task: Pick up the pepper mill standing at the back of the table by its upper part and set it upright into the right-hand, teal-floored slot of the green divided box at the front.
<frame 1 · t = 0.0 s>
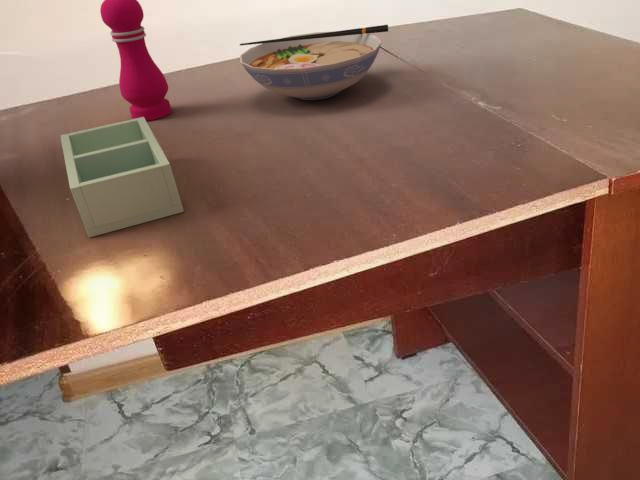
pepper mill: (152, 116, 114), on the table
green divided box: (126, 193, 87), on the table
ramen bowl: (318, 94, 116), on the table
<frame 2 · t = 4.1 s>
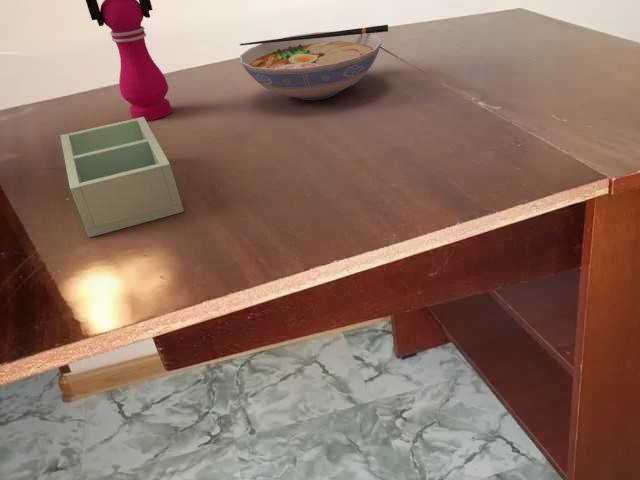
hand: (123, 19, 106), 15 cm above the table, tool pointing down, fingers closed on pepper mill, 6 cm apart
pepper mill: (152, 116, 114), on the table, touching gripper
everything else where it was.
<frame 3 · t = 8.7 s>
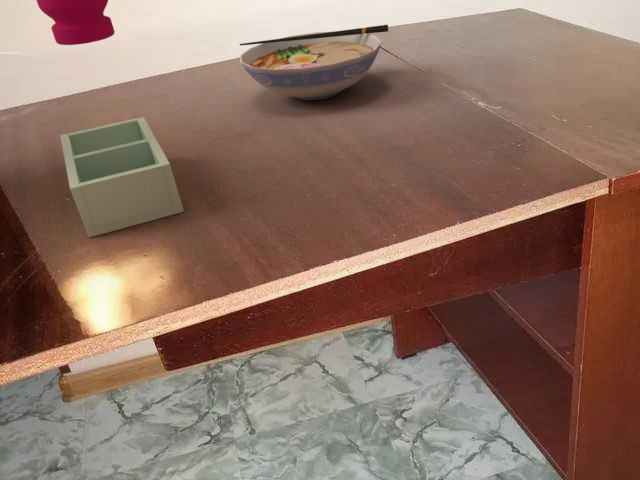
pepper mill: (86, 40, 79), point 18 cm above the table, touching gripper
everything else where it was.
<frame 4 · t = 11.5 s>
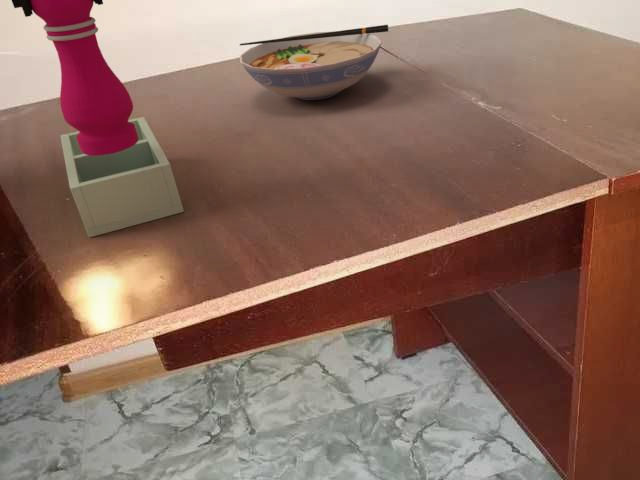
hand: (63, 6, 71), 23 cm above the table, tool pointing down, fingers closed on pepper mill, 6 cm apart
pepper mill: (111, 147, 79), point 8 cm above the table, touching gripper
everything else where it was.
when the fingers open (16 cm above the table, at t = 13.6 s): pepper mill stays where it is, resting on green divided box.
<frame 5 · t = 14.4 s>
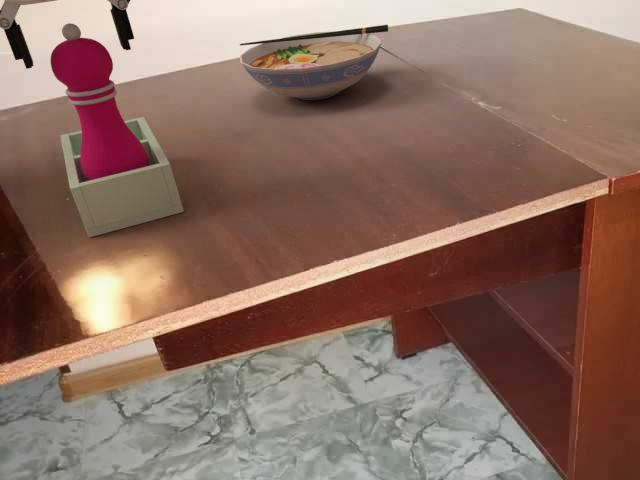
hand: (79, 56, 74), 18 cm above the table, tool pointing down, fingers open, 9 cm apart
pepper mill: (128, 200, 83), point 1 cm above the table, touching green divided box
everything else where it was.
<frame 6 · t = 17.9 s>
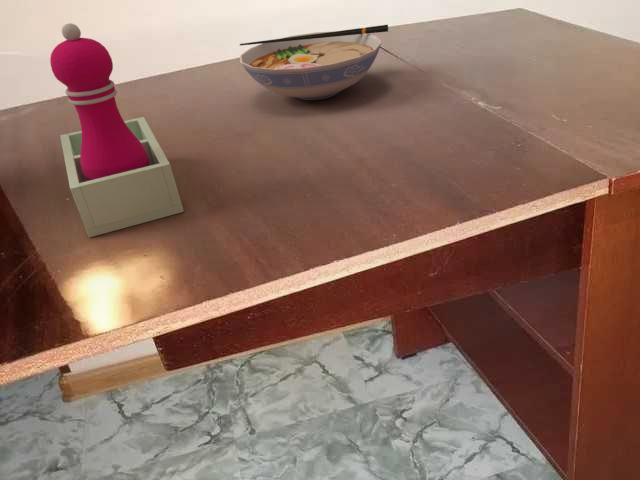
nothing on the table moved.
at the end: pepper mill 0.1 cm from the target spot in the green divided box, point 1.0 cm above the green divided box's base; pepper mill tilted 0°; the gripper is holding nothing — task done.
